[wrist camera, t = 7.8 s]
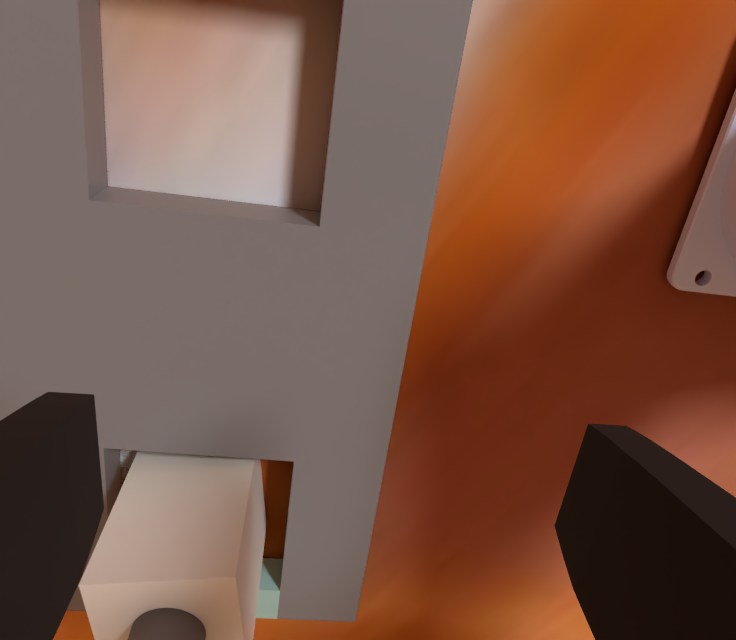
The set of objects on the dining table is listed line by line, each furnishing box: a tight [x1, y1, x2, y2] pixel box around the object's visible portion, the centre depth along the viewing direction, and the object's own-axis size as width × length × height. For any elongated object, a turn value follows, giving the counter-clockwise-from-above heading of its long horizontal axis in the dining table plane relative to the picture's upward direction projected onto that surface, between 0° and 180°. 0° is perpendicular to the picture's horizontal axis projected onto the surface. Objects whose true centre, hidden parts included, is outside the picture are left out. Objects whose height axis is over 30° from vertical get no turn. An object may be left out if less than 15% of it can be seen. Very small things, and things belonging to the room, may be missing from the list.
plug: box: [79, 451, 267, 640], centre depth 19 cm, size 4×4×8 cm
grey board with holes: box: [0, 0, 473, 622], centre depth 18 cm, size 12×23×2 cm, turn 172°
